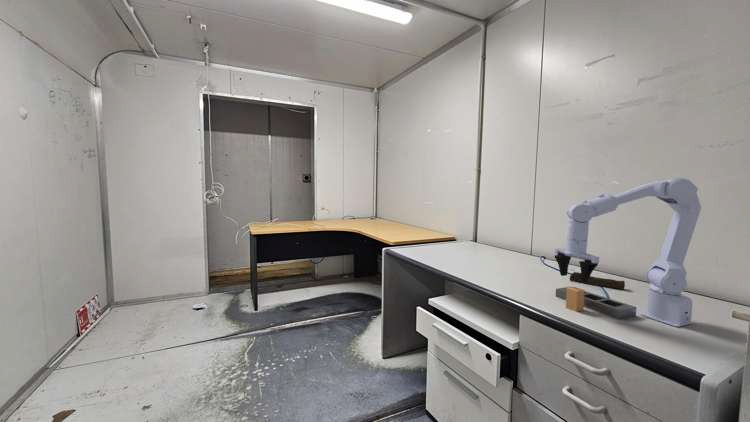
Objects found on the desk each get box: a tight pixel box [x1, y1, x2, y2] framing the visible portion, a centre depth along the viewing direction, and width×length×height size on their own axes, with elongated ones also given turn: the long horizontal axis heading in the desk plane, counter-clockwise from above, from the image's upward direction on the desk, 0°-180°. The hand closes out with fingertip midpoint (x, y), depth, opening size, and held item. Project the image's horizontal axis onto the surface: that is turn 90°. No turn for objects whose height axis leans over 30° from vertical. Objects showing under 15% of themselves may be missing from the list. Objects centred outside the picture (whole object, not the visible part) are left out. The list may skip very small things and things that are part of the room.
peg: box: [565, 286, 585, 312], centre depth 102 cm, size 4×4×7 cm
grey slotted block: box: [555, 286, 637, 320], centre depth 105 cm, size 22×8×3 cm, turn 21°
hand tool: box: [569, 271, 626, 291], centre depth 128 cm, size 19×4×5 cm, turn 48°
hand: (573, 278), depth 102 cm, fingers open, 7 cm apart
